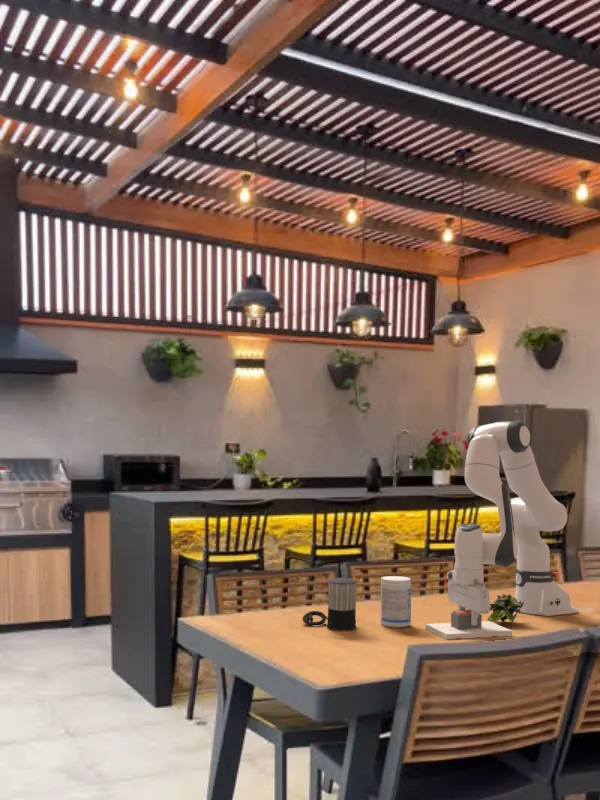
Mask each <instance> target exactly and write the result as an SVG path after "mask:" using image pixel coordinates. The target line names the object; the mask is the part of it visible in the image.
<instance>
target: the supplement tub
mask: <svg viewBox="0 0 600 800" xmlns="http://www.w3.org/2000/svg"><path fill="white" fill-rule="evenodd" d="M380 580H381V581H380V624H381V625H382V626H384V627H388V628H407V627H409V626H410V625H411V624H412V621H411V620H412V585H411V584H412V583H411V582H412V581H411V580H412V579H411V578H410V577H407V576H400V575H399V576H397V575H391V576H389V575H388V576H387V575H386V576H381V579H380Z"/></svg>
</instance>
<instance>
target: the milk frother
mask: <svg viewBox="0 0 600 800" xmlns="http://www.w3.org/2000/svg"><path fill="white" fill-rule="evenodd" d="M327 582H328V597H327V598H328V599H327V601H328V602H327V603H328V607H327V615H326V614H324V613H323V612H321V611H318V610H312V611H309V612H306V613H305V614H304V615H303V616H302V622H303V623H304V624H306V625H309V626H312V625H319V626H321V625H323V624H325V622H326V620H327V624H326V628H327V629H328V628H329V629H328V630H331V629H333V630H332V631H336V630H345V631H344V632H347V631H346V630H351V631H354V629H355V630H357V623H356V622H357V619H356V613H357V612H356V611H357V610H356V608H357V606H356V605H357V583H358V580H357V579H355V578H350V577H330V578H328V579H327ZM313 616H317V617H320V618H321V620H318V621H314V617H313Z"/></svg>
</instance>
